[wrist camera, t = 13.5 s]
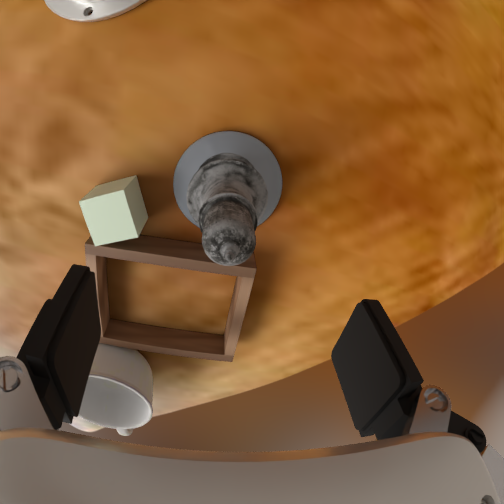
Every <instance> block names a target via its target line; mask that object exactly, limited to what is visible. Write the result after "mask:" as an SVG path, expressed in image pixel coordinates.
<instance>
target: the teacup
mask: <svg viewBox="0 0 504 504" xmlns="http://www.w3.org/2000/svg"><path fill="white" fill-rule="evenodd" d="M152 398H153V375H152V370H151V368H150V365H149V364H148V362H147V360H146V359H145V358H144V357H143V356H142V355H141V354H140V353H139V352H138V351H137V350H136V349H130V348H125V347H119V346H114V345H109V344H103V343H99V344H98V347H97V351H96V354H95V357H94V360H93V364H92V367H91V370H90V374H89V377H88V381H87V385H86V388H85V392H84V396H83V400H82V403H81V407H80V411H79V415H78V416H80V417H81V418H83V419H85V420H87V421H89V422H91V423H94V424H96V425H100V426H103V427H109V428H116V429H117V431H118V433H119V434H120V435H124V436H127V435H130V434H131V433H132V431H133V428H137V427H140V426H143V425H144V424H146V423H147V422H148V421H149V420H150V419H151V417H152V413H153V409H152Z"/></svg>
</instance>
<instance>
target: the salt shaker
mask: <svg viewBox="0 0 504 504" xmlns="http://www.w3.org/2000/svg"><path fill="white" fill-rule="evenodd" d="M186 198H187V207H188V210H189V212H190V215H191V216H192V218H193V219H194V221H195V222H196V223H197V224H198V225H199V227H200V230H201V232H202V233H203V234H202V245H203V248H204V251H205V253H206V254H207V256H208V257H209V258H210V259H211V260H212V261H214V262H216V263H218V264H220V265H225V266H234V265H238V264H241V263H243V262H245V261H246V260H247V259H248V258H250V256H251V255H252V253H253V251H254V249H255V245H256V236H255V230H256V227H257V224H258V222H259V220H260V219H261V217H262V216H263V214H264V213H265V210H266V207H267V204H268V191H267V187H266V183H265V181H264V180H263V178H262V176H261V174H260V173H259V172H258V171H257V170H256V169H255V168H254V166H253V165H252V164H251V163H250V162H249V161H248V160H247V159H245V158H244V157H242V156H240V155H237V154H233V153H221V154H217V155H214V156H212V157H210V158H209V159H207V160H206V161H205V162H204V163H203V164H202V165H201V166H200V168H199V169H198V171H197V172H196V173H195V174H194V176H193V177H192V179H191V181H190V183H189V185H188V189H187V194H186Z"/></svg>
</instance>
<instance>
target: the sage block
mask: <svg viewBox="0 0 504 504" xmlns="http://www.w3.org/2000/svg"><path fill="white" fill-rule="evenodd" d="M79 203H80V206H81V209H82V212H83V215H84V218H85V221H86V223H87V226H88V229H89V232H90V234H91V237H92V240H93V242H94V245H95V246H99V245H104V244H108V243H113V242H118V241H123V240H128V239H133V238H138V237H139V235H140V233H141V231H142V229H143V227H144V225H145V223H146V221H147V219H148V214H147V211H146V208H145V204H144V201H143V197H142V194H141V190H140V186H139V183H138V179H137V175H135V176H131V177H127V178H124V179H120V180H116V181H112V182H108V183H105V184H101V185H97V186H95V187H94V188H93V189H92V190H91V191H90V192H89V193H88V194H87V195H85V196H84V197H83V198H82V199H81V200H80V201H79Z"/></svg>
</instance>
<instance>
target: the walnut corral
mask: <svg viewBox="0 0 504 504" xmlns="http://www.w3.org/2000/svg"><path fill="white" fill-rule="evenodd" d="M85 255H86V266H88V267H89V268H90V271H92V272H94V273H95V280H96V291H97V300H98V309H99V317H100V324H101V338H100V341H99V343H103V344H109V345H114V346H119V347H125V348H130V349H136V350H142V351H148V352H155V353H161V354H168V355H175V356H183V357H191V358H199V359H208V360H218V361H228V362H232V361H233V357H234V353H235V350H236V346H237V342H238V338H239V334H240V331H241V327H242V323H243V319H244V315H245V311H246V308H247V304H248V300H249V296H250V292H251V288H252V285H253V281H254V277H255V273H256V269H257V268H256V263H255V257H254V251H253V253H252V255H251V256H250V258H248V259H247V260H246V261H245V262H243V263H241V264H238V265H234V266H225V265H220V264H218V263H216V262H214V261H212V260H211V259H210V258H209V257H208V256H207V254H206V253H205V251H204V248H203V245H202V244H199V243H193V242H186V241H179V240H172V239H165V238H158V237H151V236H144V235H139V237H138V238H133V239H128V240H123V241H118V242H113V243H108V244H104V245H99V246H95V245H94V242H93V240H92V237H91V236H90V237H89V239H88V240H87V241H86V243H85ZM106 257H109V258H115V259H121V260H128V261H134V262H141V263H147V264H154V265H161V266H167V267H174V268H181V269H188V270H195V271H202V272H210V273H217V274H224V275H232V276H237V278H236V283H235V287H234V292H233V296H232V301H231V305H230V310H229V314H228V319H227V323H226V328H225V332H224V335H217V334H208V333H200V332H192V331H184V330H177V329H170V328H163V327H156V326H150V325H144V324H137V323H131V322H126V321H120V320H114V319H110V314H109V301H108V286H107V266H106Z"/></svg>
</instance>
